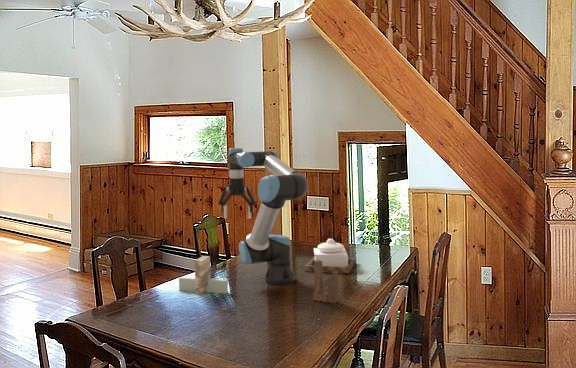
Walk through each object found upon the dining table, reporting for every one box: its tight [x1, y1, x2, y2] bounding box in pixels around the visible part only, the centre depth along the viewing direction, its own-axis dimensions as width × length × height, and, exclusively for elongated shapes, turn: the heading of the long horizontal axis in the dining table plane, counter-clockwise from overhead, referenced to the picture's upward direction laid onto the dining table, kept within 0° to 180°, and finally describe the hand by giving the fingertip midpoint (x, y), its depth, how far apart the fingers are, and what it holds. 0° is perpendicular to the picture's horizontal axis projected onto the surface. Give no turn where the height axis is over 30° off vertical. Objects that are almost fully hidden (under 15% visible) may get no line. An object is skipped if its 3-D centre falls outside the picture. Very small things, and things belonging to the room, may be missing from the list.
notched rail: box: [178, 276, 229, 294], centre depth 279 cm, size 24×2×6 cm, turn 75°
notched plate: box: [194, 255, 212, 295], centre depth 279 cm, size 4×10×16 cm, turn 165°
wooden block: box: [312, 260, 339, 304], centre depth 260 cm, size 4×11×18 cm, turn 61°
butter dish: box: [313, 238, 349, 267], centre depth 323 cm, size 18×18×16 cm
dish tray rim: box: [304, 255, 357, 274], centre depth 324 cm, size 24×24×3 cm
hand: (237, 218), depth 307 cm, fingers open, 13 cm apart
